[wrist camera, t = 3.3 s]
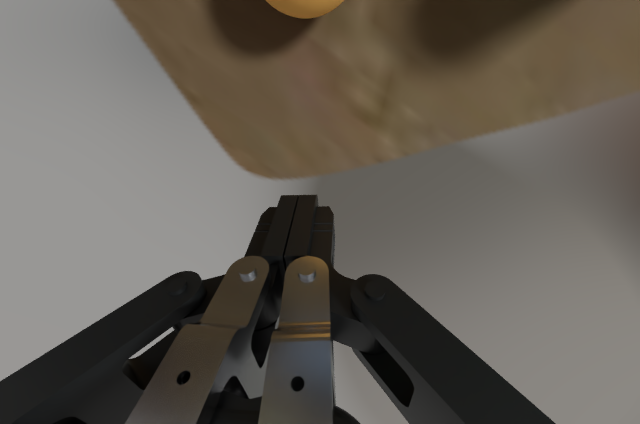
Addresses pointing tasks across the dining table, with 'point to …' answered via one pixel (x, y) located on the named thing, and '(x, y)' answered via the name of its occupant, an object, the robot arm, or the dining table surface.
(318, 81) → the dining table surface
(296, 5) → the ball
